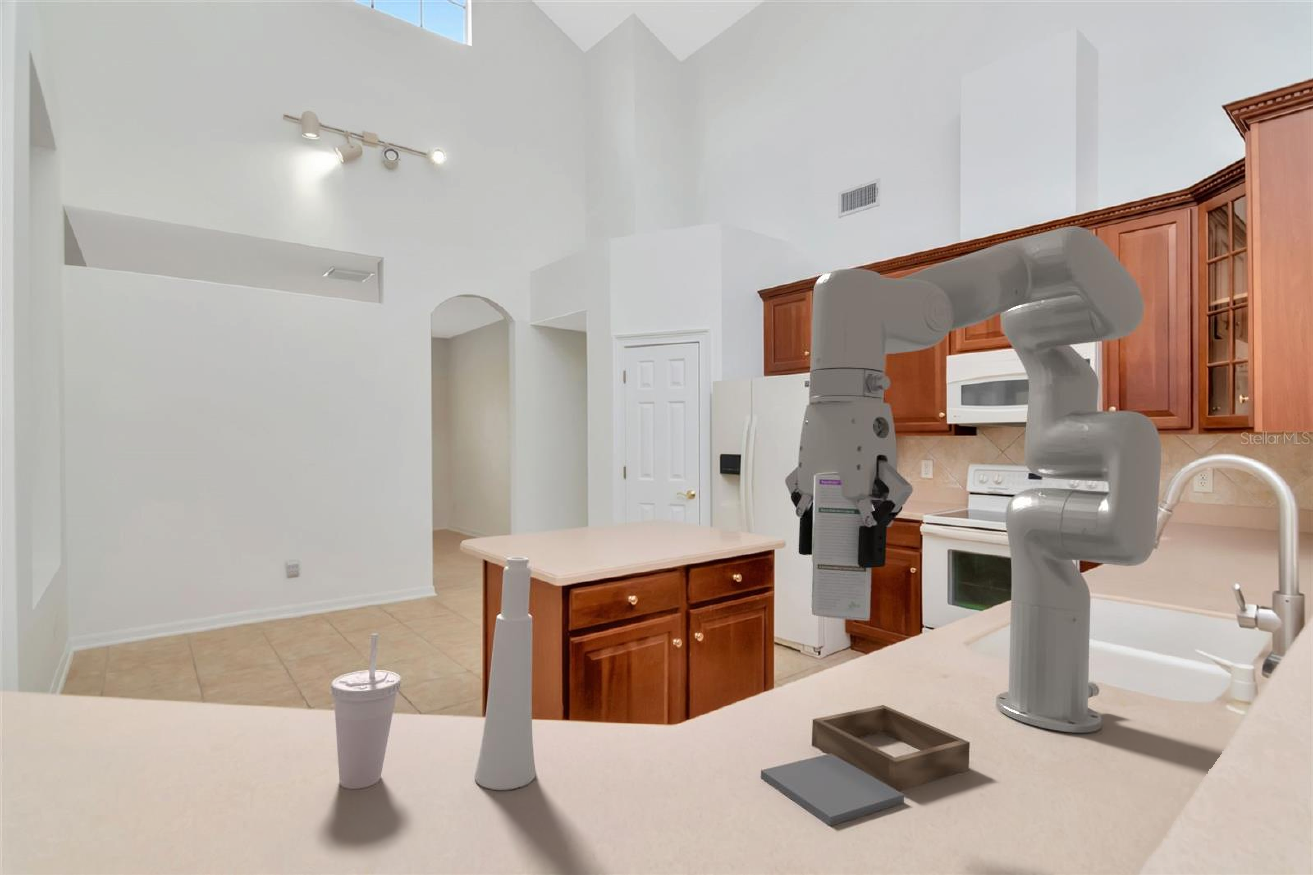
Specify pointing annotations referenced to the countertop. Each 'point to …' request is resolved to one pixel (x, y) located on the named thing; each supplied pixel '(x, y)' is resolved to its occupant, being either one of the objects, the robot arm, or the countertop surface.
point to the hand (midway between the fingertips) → (839, 559)
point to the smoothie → (363, 721)
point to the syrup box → (837, 554)
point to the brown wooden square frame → (931, 763)
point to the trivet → (832, 788)
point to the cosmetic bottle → (510, 689)
